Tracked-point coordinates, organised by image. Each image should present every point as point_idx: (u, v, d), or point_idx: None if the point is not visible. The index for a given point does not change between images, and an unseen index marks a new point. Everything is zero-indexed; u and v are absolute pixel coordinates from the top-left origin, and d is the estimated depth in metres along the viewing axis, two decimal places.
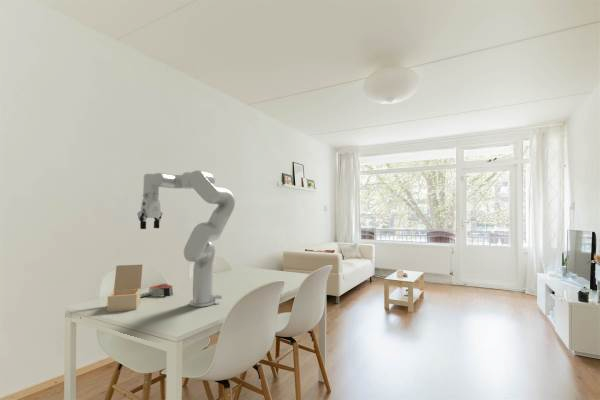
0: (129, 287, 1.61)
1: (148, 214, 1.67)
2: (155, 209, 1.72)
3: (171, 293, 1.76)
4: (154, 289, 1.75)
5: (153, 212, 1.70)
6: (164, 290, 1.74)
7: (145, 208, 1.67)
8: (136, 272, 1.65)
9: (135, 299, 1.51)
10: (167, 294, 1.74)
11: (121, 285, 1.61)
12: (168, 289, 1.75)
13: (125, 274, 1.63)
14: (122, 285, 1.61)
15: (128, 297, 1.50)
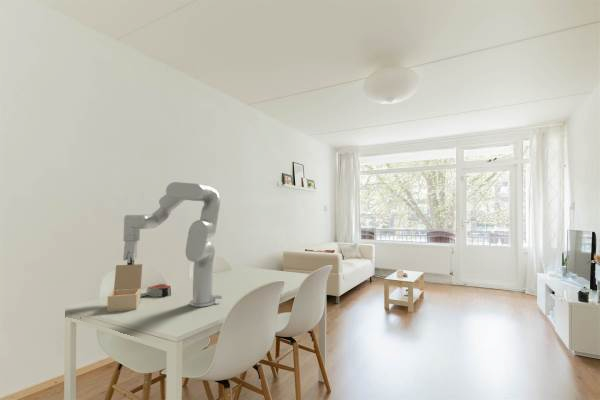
0: (129, 287, 1.61)
1: None
2: None
3: (169, 293, 1.76)
4: (152, 289, 1.75)
5: None
6: (162, 290, 1.74)
7: None
8: (136, 272, 1.64)
9: (135, 299, 1.51)
10: (165, 294, 1.74)
11: (121, 285, 1.61)
12: (166, 289, 1.75)
13: (124, 273, 1.62)
14: (122, 285, 1.61)
15: (128, 297, 1.50)
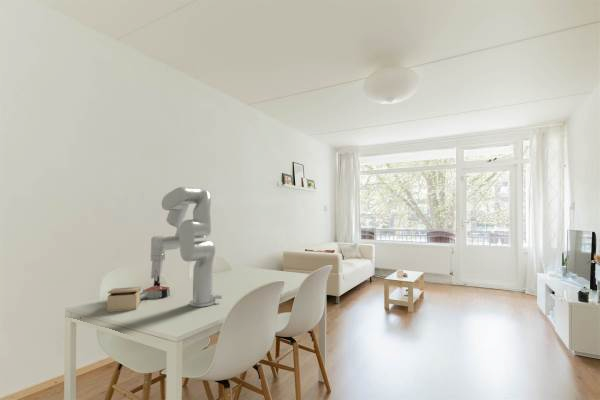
0: None
1: None
2: None
3: (168, 294, 1.74)
4: (150, 291, 1.70)
5: None
6: (162, 291, 1.71)
7: None
8: None
9: (135, 299, 1.51)
10: (165, 295, 1.72)
11: None
12: (166, 290, 1.73)
13: None
14: None
15: (128, 297, 1.50)
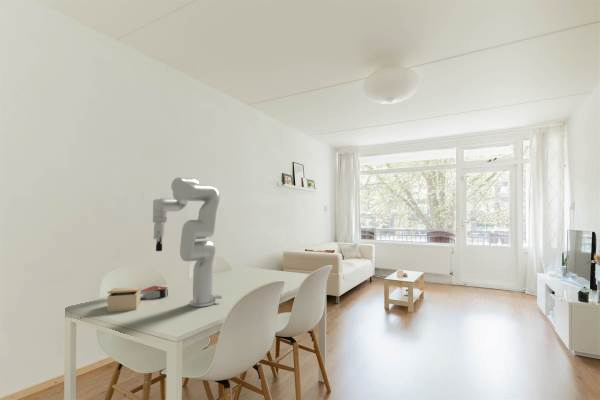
0: None
1: None
2: None
3: (166, 294, 1.74)
4: (148, 291, 1.70)
5: None
6: (160, 291, 1.71)
7: None
8: None
9: (135, 299, 1.51)
10: (163, 295, 1.71)
11: None
12: (164, 290, 1.72)
13: None
14: None
15: (128, 297, 1.50)
